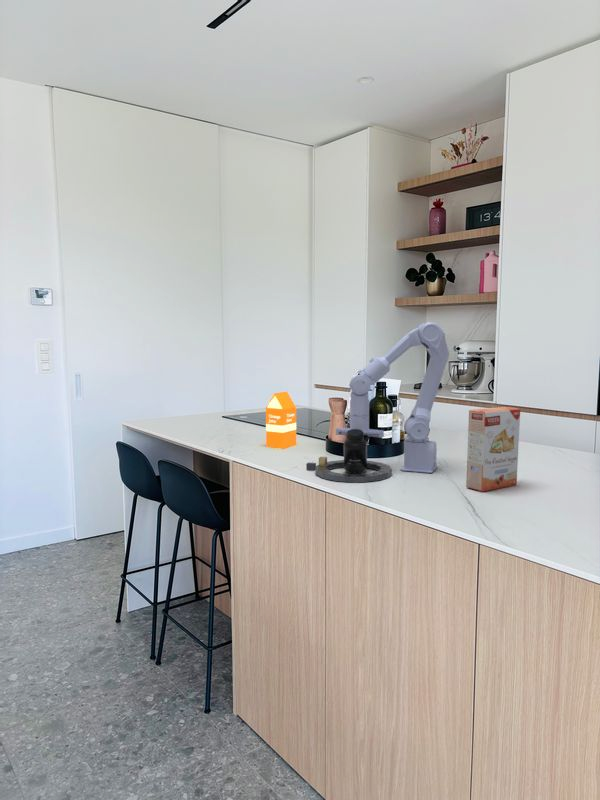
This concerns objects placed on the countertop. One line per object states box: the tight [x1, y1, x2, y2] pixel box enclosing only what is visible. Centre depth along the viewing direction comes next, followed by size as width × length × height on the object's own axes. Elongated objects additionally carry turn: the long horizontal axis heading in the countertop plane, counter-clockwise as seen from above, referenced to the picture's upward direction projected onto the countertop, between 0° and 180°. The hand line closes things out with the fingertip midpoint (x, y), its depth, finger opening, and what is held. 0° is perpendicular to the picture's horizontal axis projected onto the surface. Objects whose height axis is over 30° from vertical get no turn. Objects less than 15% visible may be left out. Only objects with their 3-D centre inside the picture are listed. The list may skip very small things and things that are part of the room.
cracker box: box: [465, 406, 521, 492], centre depth 154 cm, size 14×6×21 cm, turn 123°
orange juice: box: [265, 391, 297, 450], centre depth 214 cm, size 8×9×20 cm
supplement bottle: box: [343, 429, 368, 474], centre depth 171 cm, size 7×7×12 cm
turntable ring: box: [315, 456, 393, 483], centre depth 171 cm, size 22×22×4 cm
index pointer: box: [305, 461, 317, 471], centre depth 176 cm, size 2×2×2 cm
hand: (359, 459), depth 176 cm, fingers closed, pressing on supplement bottle
